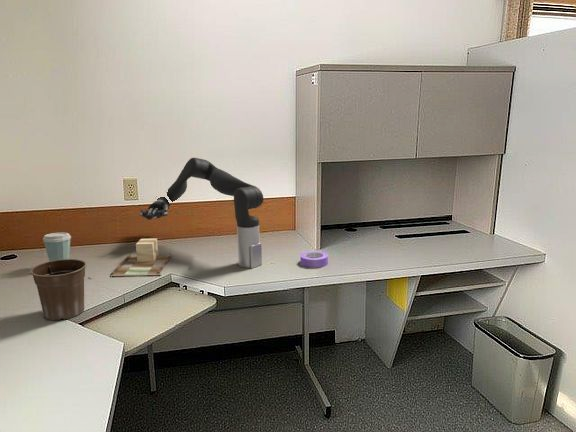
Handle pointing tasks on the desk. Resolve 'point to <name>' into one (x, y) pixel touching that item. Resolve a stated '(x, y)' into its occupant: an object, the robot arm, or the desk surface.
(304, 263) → the masking tape
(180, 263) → the desk surface
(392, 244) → the desk surface
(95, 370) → the desk surface
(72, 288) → the plant pot
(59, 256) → the disposable coffee cup
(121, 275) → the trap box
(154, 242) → the block
